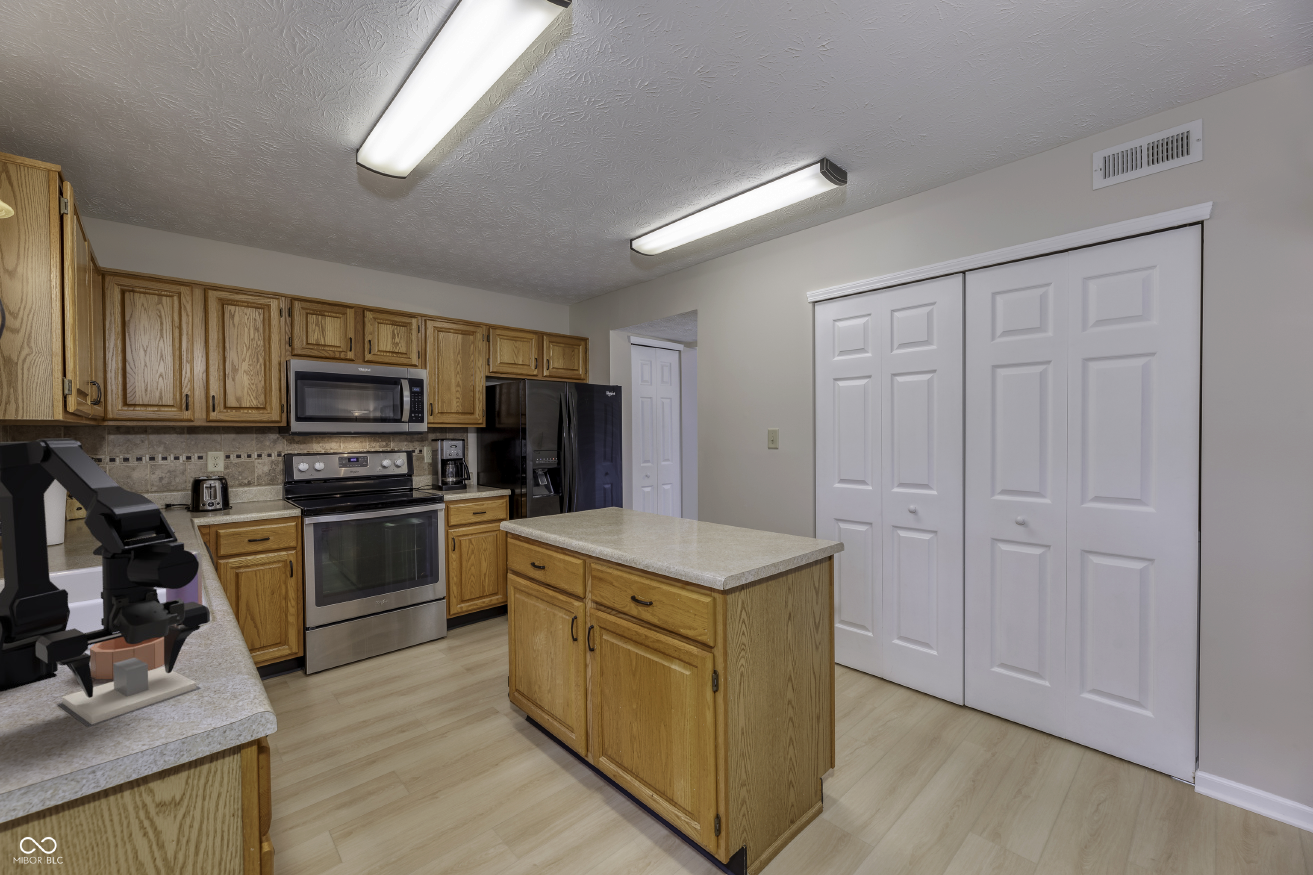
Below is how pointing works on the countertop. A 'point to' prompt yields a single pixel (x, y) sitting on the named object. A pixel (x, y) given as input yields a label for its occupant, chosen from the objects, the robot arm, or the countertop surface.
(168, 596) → the beverage can
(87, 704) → the cover sheet
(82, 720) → the mat
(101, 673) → the bowl
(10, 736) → the countertop surface
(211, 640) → the countertop surface
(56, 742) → the countertop surface
